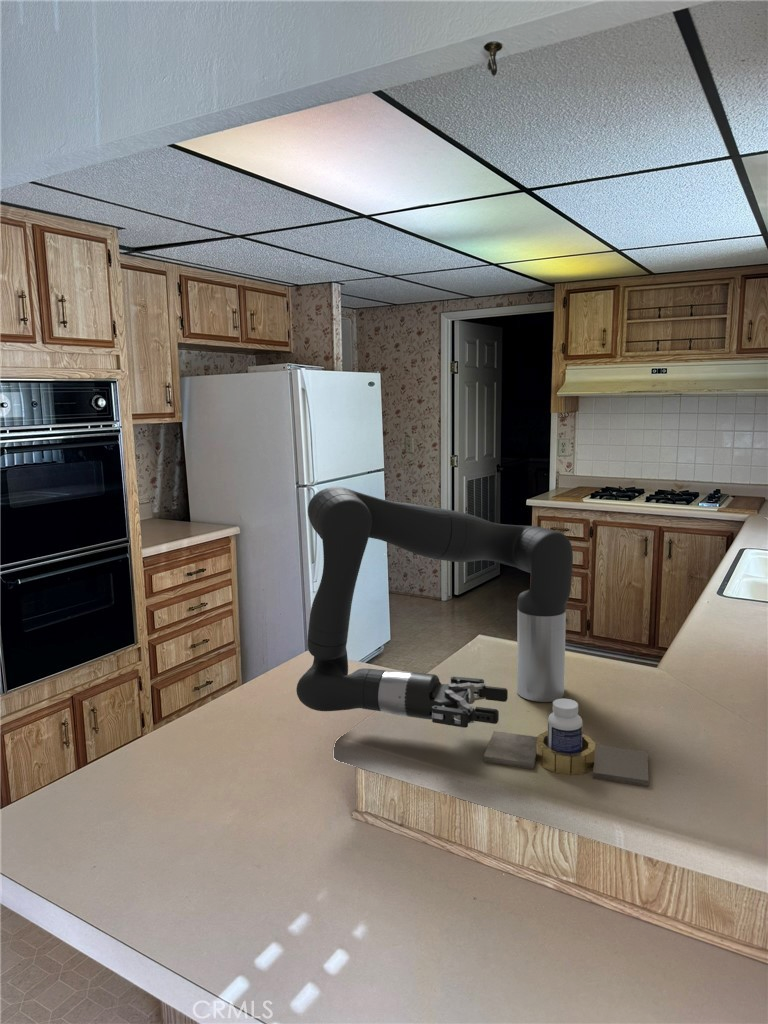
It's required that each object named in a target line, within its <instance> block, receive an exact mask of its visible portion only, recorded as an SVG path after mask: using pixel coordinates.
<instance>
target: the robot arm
mask: <svg viewBox="0 0 768 1024" xmlns="http://www.w3.org/2000/svg"><path fill="white" fill-rule="evenodd" d="M307 516H308V519H309V522H310V524H311V526H312V528H313V530H314V531H315V532H316V534H317V535H318V536H319V538H320V539H321V540H322V553H323V554H322V555H323V567H322V568H323V569H322V573H321V579H320V583H319V586H318V588H317V590H316V593H315V595H314V598H313V601H312V604H311V607H310V608H311V609H310V614H309V621H308V622H309V623H308V628H307V629H308V631H307V643H306V644H307V645H306V646H307V650H308V652H309V654H310V655H311V656H313V661H312V665H311V666H310V668H308V669H307V671H306V672H305V673H303V675H302V676H301V677H300V678H299V680H298V681H297V684H296V690H295V691H296V696H297V698H298V700H299V701H300V702H301V704H303V705H304V706H305V707H307V708H309V709H311V710H315V711H318V712H337V711H347V710H355V709H356V710H357V709H362V710H369V711H375V712H383V713H386V714H390V715H395V716H401V717H402V716H403V717H409V718H416V719H423V720H431V722H432V723H434V724H440V725H446V726H453V727H458V728H463V729H464V728H468V727H469V724H474V723H475V722H477V723H478V722H479V723H485V724H493V725H497V724H498V723H499V719H500V717H499V715H500V714H499V710H498V709H496V708H490V707H482V706H475V707H474V706H473V704H474V703H475V701H480V700H481V701H482V700H485V701H486V700H487V701H492V702H493V701H494V702H502V703H506V702H508V689H507V688H505V687H499V686H488V685H486V683H485V679H483V678H475V677H463V676H451V677H450V683H441V681H440V678H439V676H438V675H437V674H432V673H425V672H416V671H415V672H414V671H408V670H384V669H375V668H359V669H356V670H355V671H353V672H351V673H349V659H348V650H347V643H348V639H349V638H348V637H349V630H350V629H349V627H350V622H351V621H350V620H351V619H350V618H351V612H352V611H351V610H352V605H353V598H354V592H355V589H356V585H357V579H358V576H359V573H360V569H361V564H362V561H363V558H364V554H365V551H366V547H367V545H368V541H369V539H373V540H379V541H383V542H385V543H387V544H390V545H393V546H395V547H398V548H400V549H401V550H402V549H403V550H404V551H407V552H410V553H412V554H415V555H418V556H421V557H424V558H425V557H426V558H429V559H434V560H440V561H447V562H454V563H470V562H478V561H489V562H490V561H491V562H496V563H500V564H503V565H507V566H509V567H514V568H517V569H518V570H521V571H523V572H527V573H529V574H530V583H529V588H528V589H527V590H524V591H522V592H520V593H519V594H518V596H517V615H516V616H517V625H516V627H517V629H516V630H517V639H516V646H517V647H516V651H517V652H516V660H517V661H516V694H517V695H519V696H520V697H522V698H523V699H525V700H528V701H531V702H532V701H533V702H537V703H538V702H539V703H549V702H553V701H554V700H556V699H563V697H564V696H565V676H566V674H565V673H566V671H565V669H566V627H567V626H566V623H567V622H566V619H567V618H566V617H567V614H566V613H567V612H566V609H567V602H568V600H569V598H570V595H571V590H572V580H573V579H572V577H573V561H574V554H573V547H572V543H571V541H570V539H569V538H568V536H567V535H566V534H564V533H562V532H560V531H556V530H553V529H549V528H546V527H543V526H542V527H541V526H537V525H520V524H518V525H516V524H515V525H514V524H503V523H496V522H492V521H489V520H486V519H484V518H482V517H478V516H477V515H472V514H470V513H465V512H463V511H457V510H453V509H446V508H440V507H433V506H427V505H421V504H415V503H409V502H408V503H407V502H399V501H392V500H388V499H387V500H386V499H383V498H378V497H375V496H372V495H368V494H365V493H362V492H358V491H356V490H353V489H349V488H347V487H344V486H330V487H325V488H323V489H321V490H319V491H318V492H316V493H315V494H314V495H313V496H312V498H310V501H309V503H308V506H307Z"/></svg>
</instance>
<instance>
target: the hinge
mask: <svg viewBox="0 0 768 1024" xmlns="http://www.w3.org/2000/svg"><path fill="white" fill-rule="evenodd" d="M648 757H649V755H648V751H643V750H635V749H628V748H627V749H626V748H620V747H614V746H606V745H599V744H596V742H595V741H593V739H592V738H591V737H590V736H589V735H586V734H584V733H582V752H581V753H572V754H568V753H561V752H556V751H554V750H552V749H550V748H548V730H546V731H544V732H542V733H541V734H538V736H532V735H525V734H521V733H520V734H519V733H512V732H503V731H496V730H495V731H493V733H492V734H491V737H490V739H489V742H488V745H487V747H486V749H485V752H484V753H483V763H488V764H489V763H490V764H497V765H502V766H509V767H516V768H522V769H530V770H534V769H535V765H536V762H538V763H539V765H540V766H541V767H542V768H544V769H547V770H548V771H550V772H552V773H556V774H561V775H569V776H574V775H581V774H586V773H588V772H589V771H591V770H592V769H593V770H592V779H595V780H601V781H607V782H612V783H613V782H615V783H620V784H627V785H633V786H634V785H635V786H640V787H646V788H649V782H650V781H649V761H648V760H649V759H648Z"/></svg>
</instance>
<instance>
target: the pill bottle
mask: <svg viewBox="0 0 768 1024" xmlns="http://www.w3.org/2000/svg"><path fill="white" fill-rule="evenodd" d="M547 731H548V748H550V749H552V750H554V751H556V752H561V753H568V754H572V753H581V752H582V734H583V719H582V717H581V716H580V715H579V703H578V701H575V700H574V699H570V698H561V699H556V700H554V701H552V712H551V713H550V714H549V715H548V718H547Z"/></svg>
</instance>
